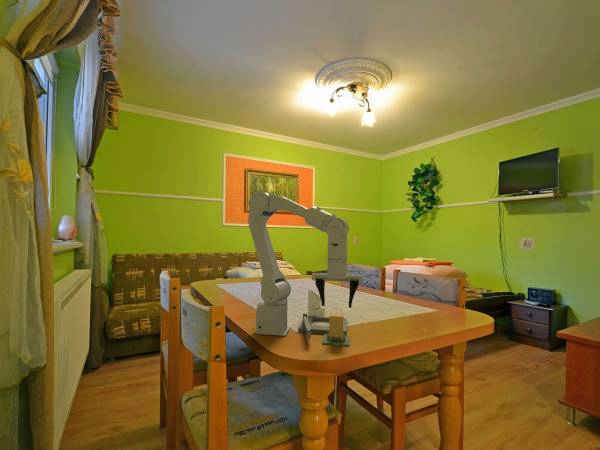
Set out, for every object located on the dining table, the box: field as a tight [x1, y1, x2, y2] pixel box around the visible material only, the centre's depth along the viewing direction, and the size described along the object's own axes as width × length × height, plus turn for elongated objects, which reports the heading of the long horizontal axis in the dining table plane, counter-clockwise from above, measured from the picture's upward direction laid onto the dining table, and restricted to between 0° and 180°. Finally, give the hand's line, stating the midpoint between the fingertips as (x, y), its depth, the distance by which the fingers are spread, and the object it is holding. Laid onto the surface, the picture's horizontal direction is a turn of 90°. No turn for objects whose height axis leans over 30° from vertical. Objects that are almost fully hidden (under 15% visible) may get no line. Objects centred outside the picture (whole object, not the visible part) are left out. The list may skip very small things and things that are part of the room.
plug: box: [327, 311, 346, 342], centre depth 84 cm, size 5×5×7 cm
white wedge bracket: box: [307, 290, 326, 317], centre depth 107 cm, size 4×10×9 cm
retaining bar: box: [302, 313, 312, 340], centre depth 88 cm, size 15×1×3 cm, turn 3°
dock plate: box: [297, 315, 348, 336], centre depth 96 cm, size 15×14×1 cm
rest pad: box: [321, 334, 351, 347], centre depth 84 cm, size 8×7×1 cm
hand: (336, 306), depth 84 cm, fingers open, 7 cm apart
